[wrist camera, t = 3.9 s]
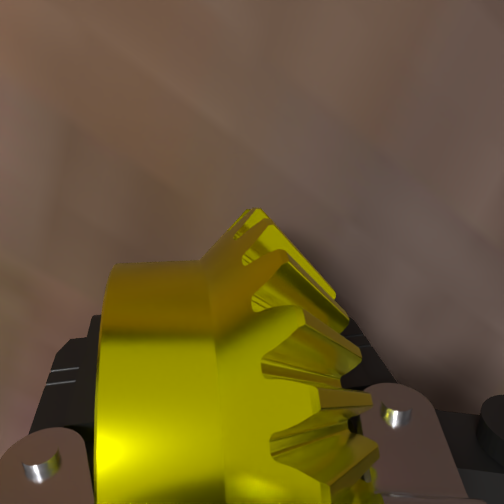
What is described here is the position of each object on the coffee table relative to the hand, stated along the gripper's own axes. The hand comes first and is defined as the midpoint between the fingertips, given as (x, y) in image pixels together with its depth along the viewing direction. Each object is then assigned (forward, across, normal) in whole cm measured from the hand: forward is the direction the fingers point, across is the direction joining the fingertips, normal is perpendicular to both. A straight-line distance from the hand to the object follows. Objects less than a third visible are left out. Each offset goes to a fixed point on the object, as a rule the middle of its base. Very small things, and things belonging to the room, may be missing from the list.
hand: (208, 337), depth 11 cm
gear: (+1, 0, 0) cm, 1 cm away
